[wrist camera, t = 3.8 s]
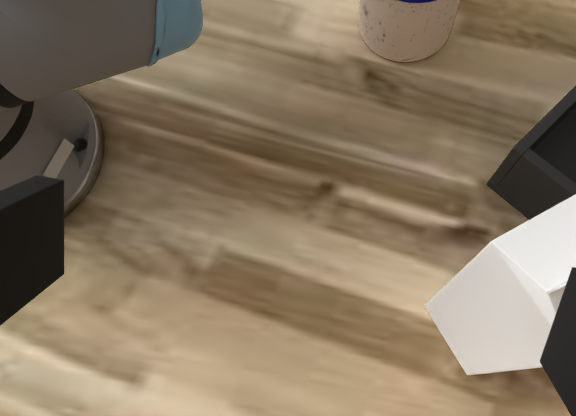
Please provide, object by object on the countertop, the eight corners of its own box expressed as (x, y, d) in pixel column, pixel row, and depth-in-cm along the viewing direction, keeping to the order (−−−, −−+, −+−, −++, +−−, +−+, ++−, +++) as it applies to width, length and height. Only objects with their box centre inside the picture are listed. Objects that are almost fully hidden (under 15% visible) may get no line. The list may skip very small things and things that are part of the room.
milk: (533, 337, 39) (761, 281, 18) (465, 376, 39) (620, 365, 18) (486, 268, 41) (643, 147, 20) (420, 304, 41) (513, 219, 20)
